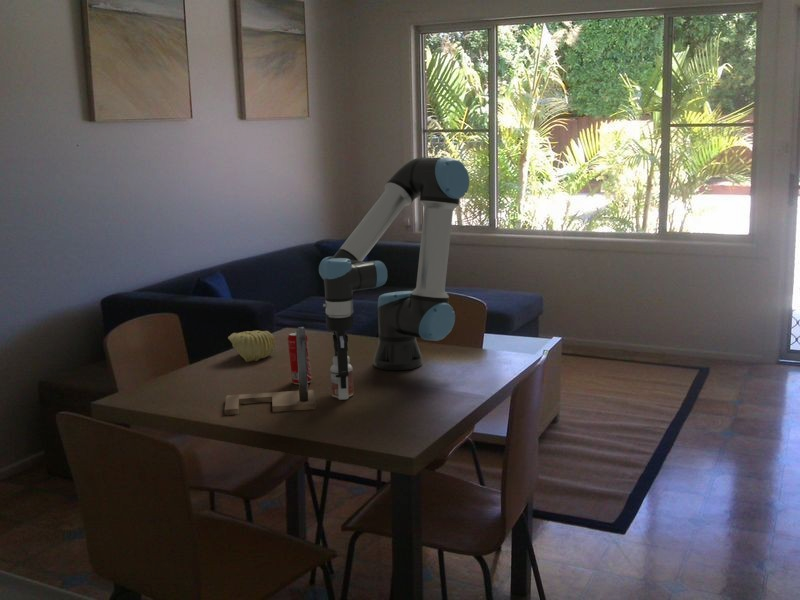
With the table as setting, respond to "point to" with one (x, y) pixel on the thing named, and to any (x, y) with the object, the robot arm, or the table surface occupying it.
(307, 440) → the table surface
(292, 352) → the beverage can
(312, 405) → the notched tan block
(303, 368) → the hook post
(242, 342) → the seashell
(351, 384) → the pill bottle
